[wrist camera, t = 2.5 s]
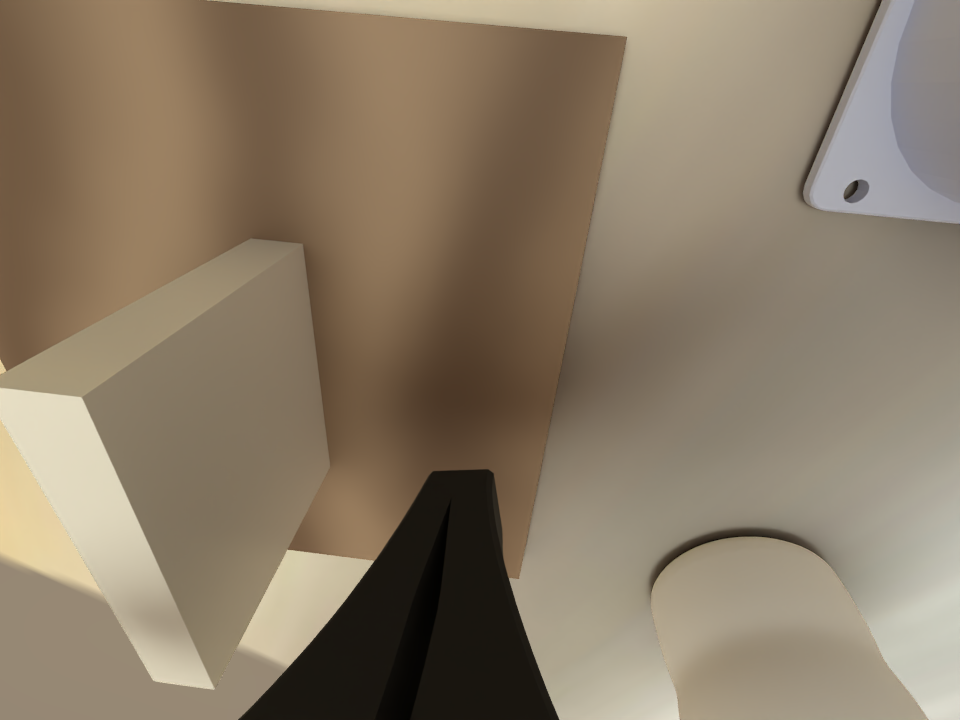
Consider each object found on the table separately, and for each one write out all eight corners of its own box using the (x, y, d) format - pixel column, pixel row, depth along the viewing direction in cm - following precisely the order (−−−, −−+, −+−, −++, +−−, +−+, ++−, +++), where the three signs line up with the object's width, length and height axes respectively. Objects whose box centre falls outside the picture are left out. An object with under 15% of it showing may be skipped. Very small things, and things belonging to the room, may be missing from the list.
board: (618, 41, 10) (627, 36, 9) (519, 557, 19) (518, 579, 18) (-154, -26, 11) (-214, -37, 10) (107, 505, 20) (89, 524, 19)
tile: (302, 243, 12) (81, 397, 6) (329, 466, 16) (215, 689, 10) (245, 237, 12) (-30, 383, 6) (287, 461, 16) (147, 680, 10)
